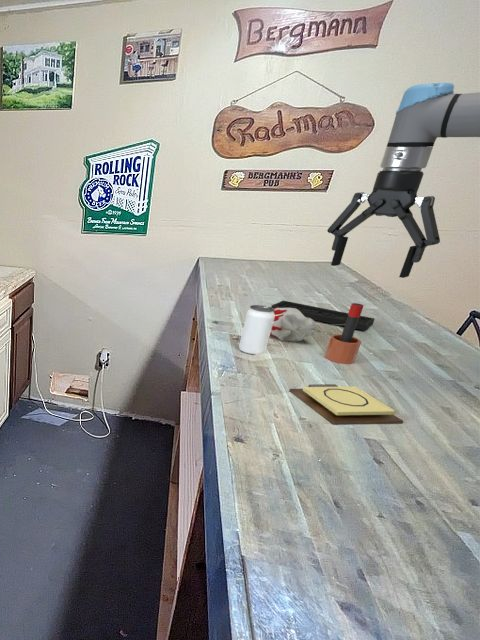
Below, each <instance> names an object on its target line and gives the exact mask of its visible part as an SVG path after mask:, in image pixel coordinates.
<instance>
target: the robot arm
mask: <svg viewBox="0 0 480 640" xmlns="http://www.w3.org/2000/svg"><path fill="white" fill-rule="evenodd" d="M454 89H455V85H454V83H453V82H430V83H429V82H428V83H420V84H415V85H412V86H410V87H408V88H407V89H406V90H405V91H404V93H403V95H402V97H401V99H400V100H401V101H400V103H399V106H398V108H397V110H396V111H395V117H394V120H393V124H392V127H391V132H390V134H389V137H388V141H387V144H386V147H385V149H384V152H383V156H382V159H381V162H380V168H381V169H382V170H379V172H377V174H376V178H375V180H374V185H373V188H372V191H371V192H370V193H365V192H364V191H361V192H355V193H354V194H353V196H352V199H351V201H350V203H349V204H348V205H347V206H346V207H345V209H344V210H343V211H342V212H341V213H340V214H339V215H338V217H337V218H336V219H335V220H334V221H333V223H331V225H330V226H329V227H328V228H327V230H326V231H327V233H328V234H332V235H333V236H334V239H333V243H332V245H331V251H334V254H333V257H332V260H331V263H330V266H331V267H335V266H340V265H341V263H342V259H343V256H344V253H345V249H346V246H347V243H348V240H349V236H347V235H348V233H350V232H351V231H353V230H355V228H357V227H358V226H359V225H361V224H362V223H364V222H365V221H366V220H368V219H369V218H371V217H372V216H374V215H375V216H376V217H383V216H384V217H388V218H398V219H399V220H400V221H401V223H402V224H403V226H404V228H405V230H406V231H407V233H408V234H409V237H410V238H411V240H412V242H413V243H414V245H411V246H409V248H408V252H407V254H406V257H405V260H404V262H403V265H402V268H401V270H400V273H399V276H398V277H399V278H401V279H404V278H408V277H410V274H411V271H412V268H413V266H414V263H420V261H421V260H422V258H423V256H424V252H425V250H426V248H427V247H429V246H435V245H438V244H440V243H441V238H440V234H439V229H438V225H437V221H436V215H435V210H434V205H435V200H436V196H434V195H427V196H420V197H419V196H418V191H419V189H420V186H421V183H422V180H423V177H424V174H425V173H424V171H422V169H425V168H427V166H428V163H429V160H430V157H431V155H432V152H433V148H434V146H435V144H436V143H435V142H436V141H437V138H443V139H445V138H480V92H469V93H455V91H454ZM366 201H367V203H368V205H369V206H368V207H367V208H365V209H364V210H362V212H361V213H360V214H358V215H357V216H356V217H354V218H353V219H352V220H351V221H349V222H347V221H348V220H349V219H350V218H351V217H352V215H353V214H354V213H356V211H357V210H358V208H359V207H361V205H362V204H365V202H366ZM416 204H417V207H418V208H420V215H421V218H422V223H423V229H424V233H425V235H424V233H423V231H422V229H421V228H420V226H419V225H418V222H417V221H416V220H415V217H414V215H413V212H412V211H411V207H413V206H414V205H416ZM346 222H347V223H346Z"/></svg>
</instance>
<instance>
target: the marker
mask: <svg viewBox="0 0 480 640" xmlns="http://www.w3.org/2000/svg"><path fill="white" fill-rule="evenodd" d="M364 307H365V306H364V304H362V303H358V302H355V303H354V302H352V303H351V304H350V308H349V311H348V312H347V313H348V318H347V321H346V324H345V326H343V330H342V334H341V335H342V336H341V339H340V341H343V342H348V343H351V340H352V337H354V334H355V331H356V329H355V328H356V325H357V322H358V319H359V317H360V316H362V312H363V309H364Z"/></svg>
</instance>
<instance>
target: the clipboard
mask: <svg viewBox="0 0 480 640" xmlns="http://www.w3.org/2000/svg"><path fill="white" fill-rule="evenodd" d="M307 387H340V386H339V385H337V384H335V383H328V384H326V383H324V384H323V383H322V384H320V383H319V384H316V383H315V384H312V383H311V384H308V386H307ZM289 392H290V393H291V394H292V395H293V396H296V397H297V398H298V399H299V400H300V401H302V402H303V403H304V404H305V405H307V406H308V407H310V408H311V409H312V410H313V411H315V412H316V413H317V414H318V415H320V416H321V417H323V418H324V419H325V420H327V422H329V423H331V425H383V424H384V425H385V424H386V425H389V424H391V425H392V424H393V425H394V424H403V423H404V420H403V419H401V418H399V417H398V416H397V415H395V414H394V415H336V414H334V413H333V412H331V411H330V410H329V409H327V408H326V407H325V406H323V405H322V404H321V403H319V402H318V401H316V400H315V399H314V398H312V397H311V396H310V395H308V394H307V393H306V392H304V391H303V388H289Z"/></svg>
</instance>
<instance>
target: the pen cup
mask: <svg viewBox="0 0 480 640" xmlns="http://www.w3.org/2000/svg"><path fill="white" fill-rule="evenodd" d="M341 336H342V334H332V335H331V336H330V338H329V342H328V346H327V349H326V352H325V354H324V358H325V359H326V360H327V361H330V362H333V363H337V364H342V365H353V364H355V362H356V359H357V356H358V354H359V350H360V347H361V345H362V340H361V339H359V338H357V337H354V336H353V337H352V340H351V343H348V342H343V341H340V339H341Z"/></svg>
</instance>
